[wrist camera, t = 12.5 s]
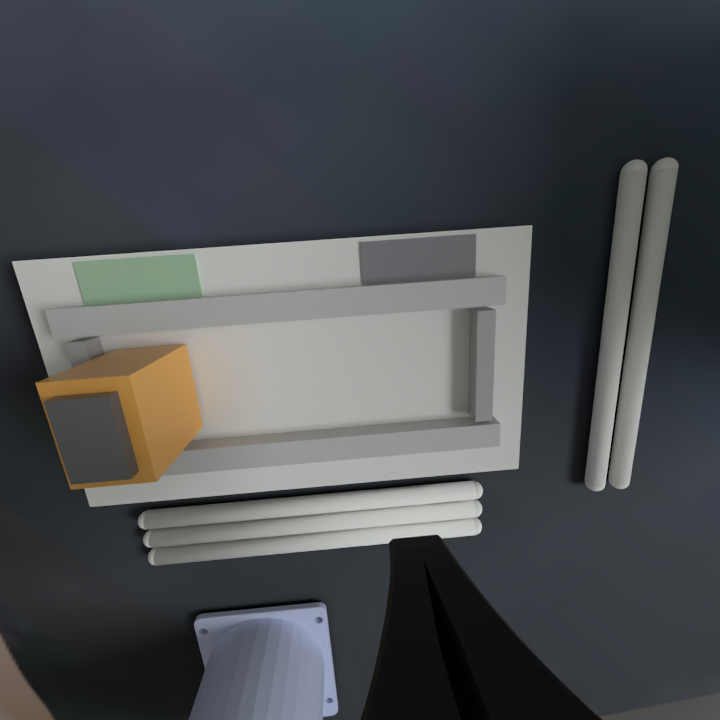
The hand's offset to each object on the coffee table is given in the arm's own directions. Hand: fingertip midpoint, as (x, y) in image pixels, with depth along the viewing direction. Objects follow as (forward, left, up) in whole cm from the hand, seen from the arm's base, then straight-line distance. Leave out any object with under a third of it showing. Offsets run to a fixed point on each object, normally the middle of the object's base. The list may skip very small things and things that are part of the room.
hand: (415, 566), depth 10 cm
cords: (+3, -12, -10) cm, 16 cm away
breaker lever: (+3, +10, -8) cm, 13 cm away
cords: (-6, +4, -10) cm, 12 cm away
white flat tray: (+3, +4, -10) cm, 11 cm away
